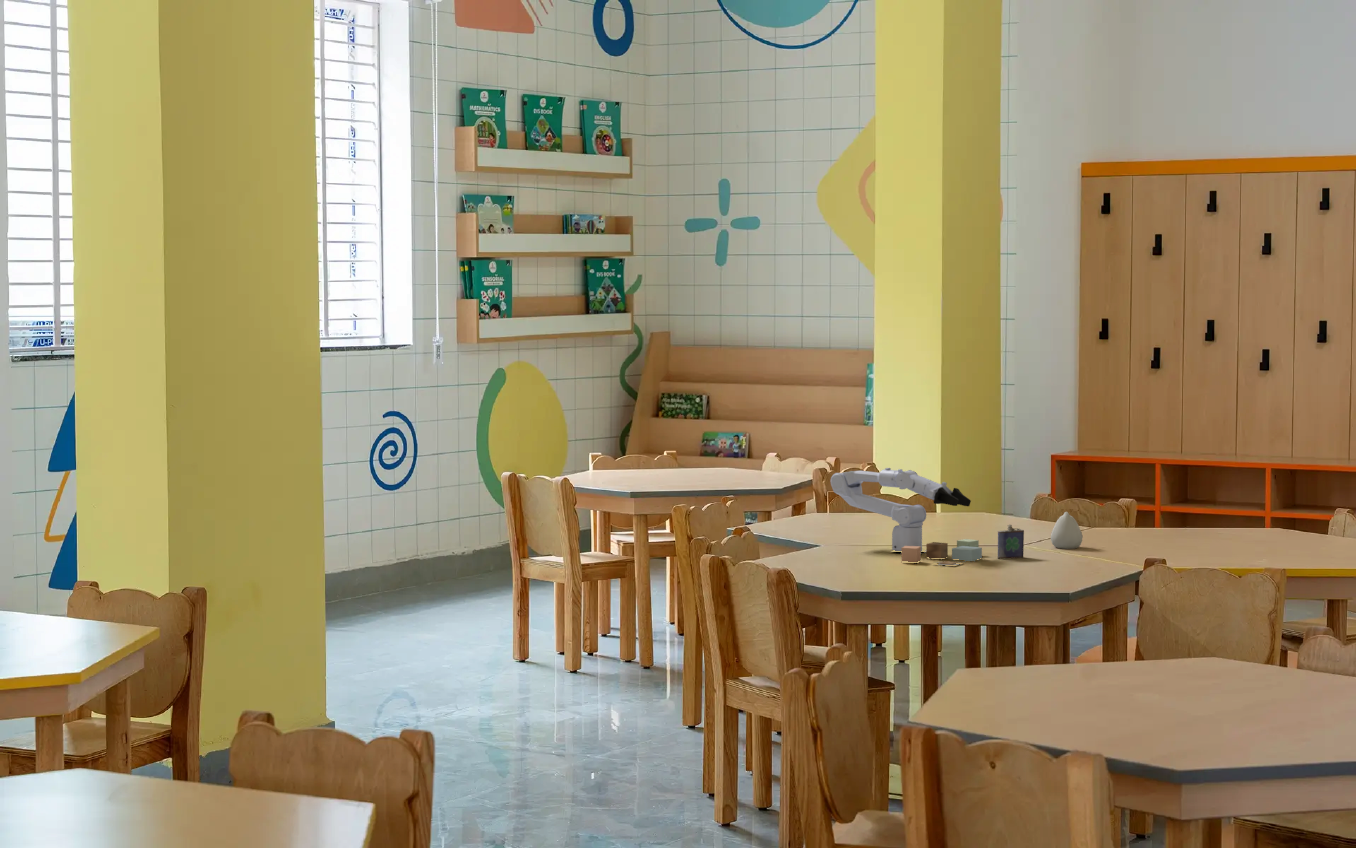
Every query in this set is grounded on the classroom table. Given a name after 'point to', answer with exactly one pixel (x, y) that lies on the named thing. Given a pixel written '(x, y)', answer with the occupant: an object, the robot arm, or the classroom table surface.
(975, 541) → the sage cube
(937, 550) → the walnut cube
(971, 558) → the base block
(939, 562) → the grey square frame
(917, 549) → the terracotta cube
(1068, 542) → the grey teardrop shape
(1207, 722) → the classroom table surface
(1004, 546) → the flask
